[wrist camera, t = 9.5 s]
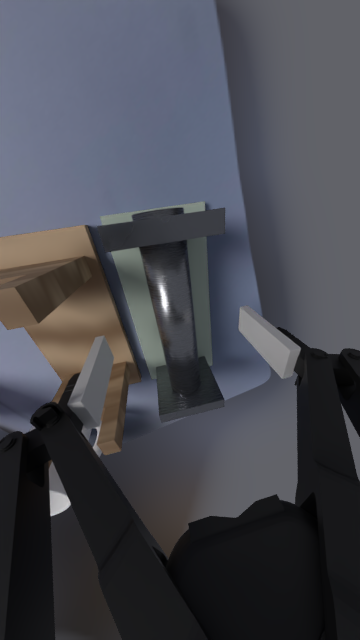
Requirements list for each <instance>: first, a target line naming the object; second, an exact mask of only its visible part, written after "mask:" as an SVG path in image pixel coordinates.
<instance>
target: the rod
mask: <svg viewBox="0 0 360 640" xmlns="http://www.w3.org/2000/svg"><path fill="white" fill-rule="evenodd" d="M131 216H132V220H133V221H130V222H123V223H116V224H109V225H102V226H97V229H98V232H99V235H100V238H101V241H102V244H103V247H104V250H105V253H106V252H112V251H119V250H125V249H131V248H137V247H139V250H140V255H141V259H142V263H143V267H144V272H145V276H146V280H147V284H148V289H149V293H150V297H151V302H152V306H153V310H154V314H155V319H156V323H157V327H158V332H159V336H160V340H161V344H162V349H163V353H164V357H165V362H166V365H163V366H158V367H156V375H157V389H158V403H159V416H160V419H161V422H162V423H163V422H167V421H170V420H174V419H178V418H182V417H186V416H190V415H194V414H198V413H202V412H206V411H209V410H213V409H217V408H221V407H224V398H223V395H222V393H221V391H220V389H219V387H218V384H217V382H216V380H215V378H214V376H213V374H212V371H211V369H210V367H209V365H208V363H207V360H206V358H205V356H203V357H198V348H197V338H196V328H195V318H194V308H193V298H192V288H191V278H190V268H189V258H188V247H187V240H188V239H194V238H200V237H206V236H213V235H219V234H225V208H219V209H213V210H206V211H199V212H192V213H185V214H184V208H182V207H178V208H167V209H159V210H153V211H147V212H142V213H137V214H133V215H131Z"/></svg>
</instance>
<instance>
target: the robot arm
mask: <svg viewBox="0 0 360 640" xmlns="http://www.w3.org/2000/svg"><path fill="white" fill-rule="evenodd" d="M239 331H240V332H241V333H242V334H243V335H244V337H245V338H246V339H247V340H248V341H249V342H250V343H251V344H252V346H253V347H254V348H255V349H256V350H257V351H258V352H259V353H260V355H261V356H262V357H263V358H264V359H265V360H266V361H267V362H268V363H269V365H270V366H271V367H272V368H273V369H274V370H275V371H276V372H277V374H278V375H279V376H280V377H281V378H282V379H285V378H288V377H292V375H293V372H294V371H295V372H296V373H297V374H298V376H297V379H296V382H295V385H297V442H298V443H297V446H298V447H297V448H298V449H297V450H298V484H297V490H296V497H295V504H292V503H290V502H287V501H283V500H279V498H278V496H277V494H276V495H273V496H270V497H267V498H264V499H261V500H258V501H256V502H254V503H253V504H252V505H251V506H250V507H249V508H248V509H246V510H245V511H244V512H243V513H242V514H241V515H240V516H239V517H237V518H229V517H217V516H209V517H206V518H203V519H200V520H197V521H194V522H191V523H189V524H188V525H189V529H188V530H187V531H186V532H185V533H184V534H183V535H182V536H181V537H180V539H179V540H178V542H177V543H176V545H175V546H174V548H173V551H172V552H171V554H170V557H169V559H168V558H167V556H166V555H165V553H164V552H163V550H162V549H161V547H160V546H159V544H158V543H157V542H156V540H155V539H154V538H153V536H152V535H151V534H150V532H149V531H148V529H147V528H146V527H145V525H144V524H143V522H142V521H141V519H140V518H139V516H138V515H137V513H136V512H135V510H134V509H133V507H132V506H131V504H130V503H129V501H128V500H127V498H126V497H125V495H124V494H123V492H122V491H121V489H120V488H119V486H118V485H117V483H116V482H115V480H114V479H113V477H112V476H111V474H110V473H109V471H108V470H107V468H106V467H105V465H104V464H103V462H102V461H101V460H100V458H99V456H98V455H97V454H96V452H95V451H94V449H93V448H92V446H91V445H90V443H89V442H88V440H87V439H86V437H85V436H84V434H83V433H82V432H81V431H82V428H83V425H84V426H85V428H86V429H87V430H88V429H91V428H95V427H99V425H100V420H101V416H102V411H103V406H104V402H105V397H106V393H107V388H108V384H109V379H110V375H111V370H112V365H113V361H114V356H113V354H112V352H111V349H110V347H109V345H108V343H107V340H106V338H105V336H99V337H95V340H94V342H93V345H92V347H91V349H90V352H89V354H88V356H87V359H86V361H85V363H84V366H83V368H82V371H81V373H77V374H74V375H73V376H72V377H71V378H70V380H69V381H68V383H67V385H66V388H65V390H64V393H63V394H62V396H61V398H60V400H59V402H58V404H57V403H56V402H50V403H46V404H45V405H43V406H41V407H40V408H39V409H38V410H36V412H35V413H34V414H33V415H32V417H31V419H30V423H31V424H32V425H33V426H34V427H35V429H33V430H31V431H30V432H28V433H26V434H23V433H22V432H20V431H16V432H13V433H10V434H8V435H7V436H6V437H4V438H3V439H2V440H1V441H0V640H55V623H54V598H53V597H54V596H53V571H52V544H51V516H50V489H49V462H48V461H50V460H52V462H53V464H54V466H55V469H56V471H57V473H58V475H59V478H60V480H61V482H62V485H63V487H64V489H65V492H66V494H67V496H68V498H69V501H70V503H71V505H72V508H73V510H74V512H75V514H76V517H77V519H78V521H79V524H80V526H81V528H82V530H83V533H84V535H85V537H86V540H87V542H88V544H89V547H90V549H91V551H92V553H93V556H94V558H95V560H96V563H97V565H98V569H99V573H98V579H99V583H100V586H101V589H102V592H103V595H104V597H105V599H106V602H107V604H108V607H109V609H110V611H111V614H112V616H113V619H114V621H115V623H116V626H117V628H118V631H119V633H120V635H121V638H122V640H360V481H359V479H358V477H357V473H356V469H355V464H354V460H353V455H352V451H351V447H350V442H349V438H348V433H347V429H346V425H345V420H344V415H343V411H342V407H341V404H342V406H343V408H344V409H345V411H346V413H347V415H348V417H349V418H350V420H351V422H352V424H353V426H354V427H355V430H356V431H357V433H358V435H359V437H360V351H359V350H355V349H350V348H349V349H343V350H342V352H341V353H340V354H327V353H326V352H324V351H322V350H320V349H314V348H309V347H308V346H307V345H305V344H304V343H303V342H301V341H300V340H299V339H297V338H295V336H293V335H291V333H289V332H288V331H287V330H285V329H282V328H280V327H278V328H275V327H274V326H273V325H271V324H270V323H269V322H268V321H266V320H265V319H264V318H263V317H261V316H260V315H259V314H257V313H256V312H255V311H254V310H252V309H251V308H250V307H249V306H242V307H240V315H239Z"/></svg>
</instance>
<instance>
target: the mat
mask: <svg viewBox="0 0 360 640" xmlns="http://www.w3.org/2000/svg"><path fill="white" fill-rule="evenodd" d="M178 207H182V208H184V214H185V213H192V212H199V211H205V201H204V202H198V203H191V204H184V205H177V206H170V207H163V208H156V209H149V210H142V211H135V212H128V213H121V214H114V215H107V216H100V218H101V222H102V225H109V224H116V223H123V222H130V221H133V220H132V216H131V215H133V214H137V213H142V212H147V211H153V210H159V209H167V208H178ZM187 247H188V258H189V268H190V278H191V288H192V298H193V308H194V318H195V328H196V338H197V348H198V357H203V356H205V358H206V360H207V363H208V365H209V366H212V365H213V363H212V342H211V322H210V301H209V280H208V259H207V238H206V237H200V238H194V239H188V240H187ZM111 253H112V256H113V259H114V263H115V266H116V269H117V272H118V275H119V278H120V282H121V285H122V288H123V291H124V294H125V297H126V300H127V304H128V307H129V310H130V313H131V316H132V319H133V323H134V326H135V329H136V332H137V335H138V338H139V342H140V345H141V348H142V351H143V354H144V357H145V360H146V364H147V367H148V370H149V373H150V376H151V379H156V378H157V375H156V367H158V366H163V365H166V362H165V357H164V353H163V349H162V344H161V340H160V336H159V332H158V327H157V323H156V319H155V314H154V310H153V306H152V302H151V297H150V293H149V289H148V284H147V280H146V276H145V272H144V267H143V263H142V259H141V255H140V250H139V247H137V248H131V249H125V250H119V251H112V252H111Z"/></svg>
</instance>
